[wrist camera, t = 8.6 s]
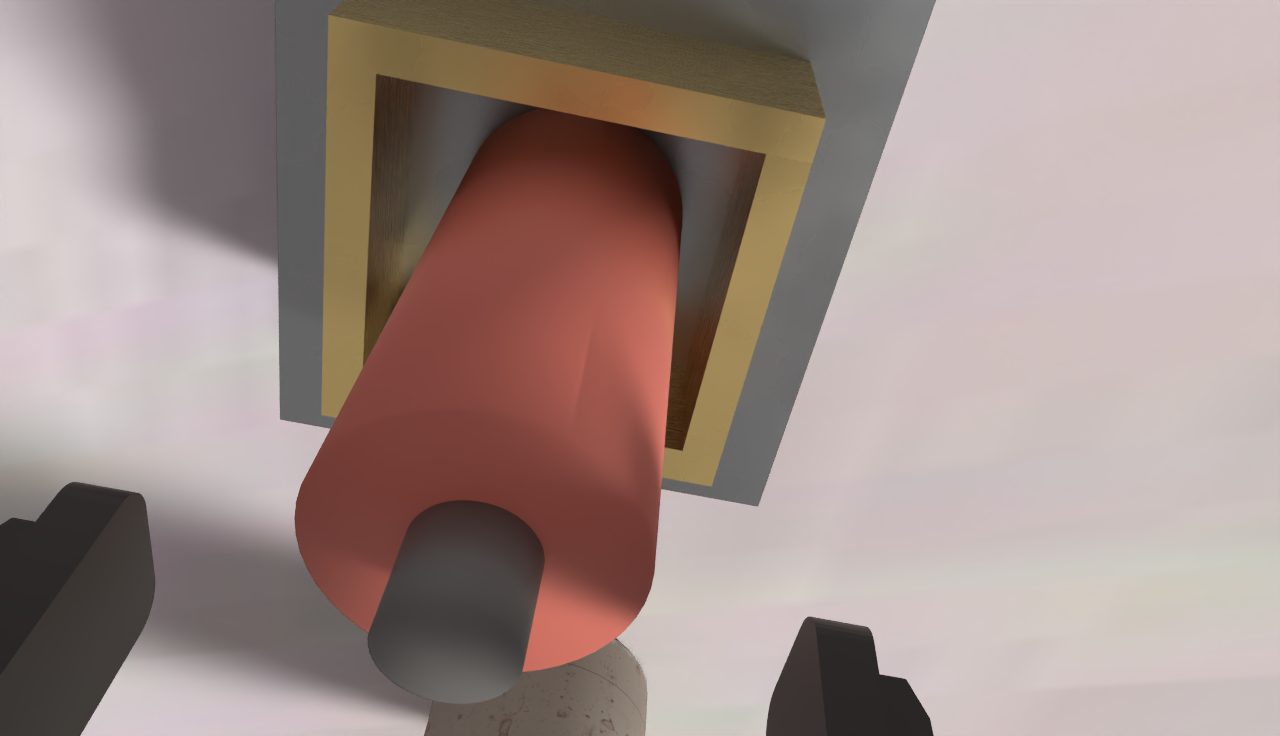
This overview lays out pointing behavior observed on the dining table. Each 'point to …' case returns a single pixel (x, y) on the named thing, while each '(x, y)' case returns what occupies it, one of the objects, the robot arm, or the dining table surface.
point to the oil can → (510, 419)
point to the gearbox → (610, 91)
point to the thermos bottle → (558, 702)
